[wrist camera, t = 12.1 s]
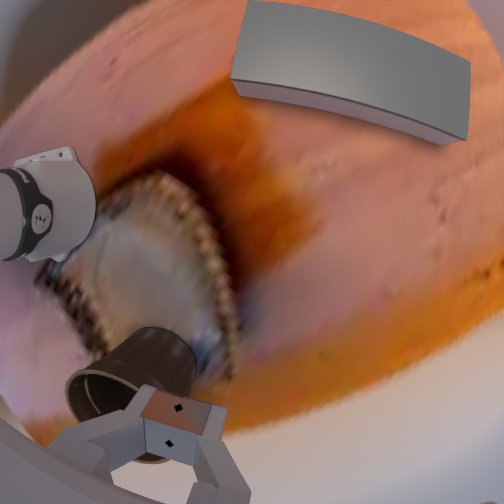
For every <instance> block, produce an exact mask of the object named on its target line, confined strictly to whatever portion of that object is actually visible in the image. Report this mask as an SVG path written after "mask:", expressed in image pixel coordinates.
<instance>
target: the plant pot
mask: <svg viewBox="0 0 504 504" xmlns="http://www.w3.org/2000/svg"><path fill="white" fill-rule="evenodd" d="M195 375H196V365H195V358H194V355H193V353H192V351H191V350H190V348H189V347H188V346H187V345H186V344H185V343H184V342H183V341H182V340H181V339H180V338H179V337H177V336H176V335H174V334H173V333H171V332H169V331H167V330H164V329H161V328H157V329H154V328H148V327H147V328H142V329H140V330H138V331H136V332H135V333H134V334H132V335H131V336H130V337H129V338H128V339H126V340H125V341H124V342H123V343H121V344H120V345H119V346H118V347H116V348H115V349H114V350H112V351H111V352H110V353H108V354H107V355H106V356H105V357H103V358H102V359H101V360H99V361H96V362H94V363H92V364H91V365H89V366H88V367H86V368H85V369H81V370H78V371H76V372H75V373H73V374H72V375H71V376H70V377H69V378H68V380H67V382H66V385H65V397H66V401H67V405H68V407H69V409H70V411H71V413H72V415H73V417H74V418H75V420H76V421H77V423H81V422H84V421H88V420H91V419H94V418H97V417H100V416H103V415H106V414H109V413H112V412H115V411H118V410H123V411H124V410H125V409H126V407H127V406H128V405H129V403H130V402H131V400H132V399H133V398H134V396H135V395H136V393H137V392H138V390H139V389H140V388H141V386H142V385H144V384H147V385H150V386H152V387H155V388H159V389H162V390H165V391H168V392H171V393H174V394H177V395H180V396H184V397H188V396H189V393H190V389H191V386H192V383H193V380H194V378H195ZM145 452H146V451H145ZM169 460H171V459H168V458H165V457H162V456H158V455H155V454H152V453H149V452H146V453H144V454H143V455H141V456H139V457H137V458H136V459H134V460H132V461H134V462H139V463H144V464H160V463H164V462H167V461H169Z"/></svg>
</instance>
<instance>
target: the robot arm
mask: <svg viewBox="0 0 504 504" xmlns="http://www.w3.org/2000/svg"><path fill="white" fill-rule="evenodd" d="M62 154H63V155H62ZM95 208H96V203H95V193H94V189H93V185H92V182H91V180H90V178H89V176H88V174H87V173H86V171H85V170H84V169H83V168H82V167H81V166H80V164H79V163H78V161H77V158H76V154H75V151H74V149H73V148H72V147H70V146H69V147H62V148H58V149H54V150H50V151H46V152H43V153H39V154H35V155H32V156H28V157H25V158H22V159H19V160H17V161H16V162H15V164H14V166H13V167H12V168H4V169H0V261H1V260H2V261H10V260H17V259H20V258H22V257H23V256H24V257H25V258H27V259H29V261H31V262H34V261H38V260H42V259H46V258H52V259H53V260H55V261H57V262H62V261H64V260H65V259H66V258H67V256H68V254H69V253H70V251H71V250H72V249H73V248H75V247H77V246H78V245H80V244H81V243H82V242H83V241H84V240H85V239H86V237H87V236H88V234H89V232H90V230H91V228H92V225H93V222H94V217H95ZM227 410H228V407H225V406H221V405H216V404H211V403H207V402H203V401H199V400H195V399H191V398H188V397H184V396H180V395H177V394H174V393H171V392H168V391H165V390H162V389H159V388H155V387H152V386H150V385H147V384H144V385H142V386H141V388H140V389H139V390H138V392H137V393H136V395H135V396H134V398H133V399H132V400H131V402H130V403H129V405H128V406H127V407H126V409H125V410H124V411H123V410H118V411H115V412H112V413H109V414H106V415H103V416H100V417H97V418H94V419H91V420H88V421H84V422H81V423H78V424H75V425H71V426H68V427H65V428H64V429H63V430H62V431H61V432H60V433H59V435H58V436H57V437H56V438H55V439H54V440H53V442H52V443H51V444H50V445H49V446H48V447H47V449H45V448H43V447H42V446H40V445H39V444H37V443H35V442H34V441H32V440H31V439H29V438H28V437H26V436H25V435H24V434H22V433H21V432H19V431H18V430H17V429H15V428H14V427H12V426H11V425H10V424H8V423H7V422H6V421H4V420H3V419H2V418H0V504H164V503H161V502H158V501H155V500H152V499H149V498H147V497H144V496H141V495H138V494H136V493H133V492H130V491H128V490H126V489H123V488H121V487H118V486H116V485H114V483H113V480H112V476H111V473H110V472H112V471H114V470H116V469H117V468H119V467H121V466H123V465H125V464H126V463H128V462H130V461H132V460H134V459H136V458H137V457H139V456H141V455H143V454H144V453H146V452H149V453H152V454H155V455H158V456H162V457H165V458H168V459H172V460H174V461H177V462H181V463H184V464H187V465H190V466H193V469H194V471H195V474H196V477H197V480H198V482H195V483H193V486H192V489H191V492H190V495H189V497H188V500H187V503H186V504H249V503H250V497H251V490H250V488H249V486H248V485H247V483H246V481H245V480H244V478H243V476H242V475H241V473H240V471H239V470H238V468H237V466H236V464H235V462H234V460H233V459H232V457H231V455H230V453H229V451H228V449H227V447H226V446H225V444H224V442H223V441H221V439H222V435H223V430H224V425H225V420H226V415H227ZM145 451H146V452H145ZM481 504H497V503H495V502H492V501H490V502H485V503H481Z"/></svg>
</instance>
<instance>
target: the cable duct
mask: <svg viewBox="0 0 504 504" xmlns="http://www.w3.org/2000/svg"><path fill="white" fill-rule="evenodd" d="M232 82H233V84H234V86H235V88H236V90H237V92H238V94H239V95H240V96H244V97H251V98H259V99H265V100H272V101H278V102H284V103H290V104H295V105H300V106H305V107H310V108H315V109H320V110H324V111H329V112H333V113H337V114H341V115H345V116H349V117H353V118H357V119H361V120H364V121H368V122H371V123H375V124H378V125H382V126H385V127H388V128H391V129H395V130H398V131H401V132H404V133H407V134H410V135H413V136H415V137H418V138H421V139H424V140H427V141H429V142H432V143H435V144H437V145H440V146H441V145H445V144H450V143H455V142H459V141H462V140H461V139H458V138H456V137H454V136H451V135H449V134H447V133H444V132H442V131H439V130H437V129H434V128H432V127H429V126H426V125H424V124H421V123H418V122H415V121H413V120H410V119H407V118H404V117H401V116H398V115H395V114H392V113H389V112H386V111H382V110H379V109H376V108H372V107H369V106H365V105H362V104H358V103H354V102H350V101H347V100H343V99H338V98H334V97H330V96H326V95H321V94H316V93H312V92H307V91H301V90H296V89H291V88H285V87H279V86H272V85H266V84H258V83H251V82H242V81H233V80H232Z"/></svg>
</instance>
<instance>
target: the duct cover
mask: <svg viewBox="0 0 504 504" xmlns="http://www.w3.org/2000/svg"><path fill="white" fill-rule="evenodd" d="M230 79H231V80H233V81H242V82H251V83H258V84H266V85H272V86H279V87H285V88H291V89H296V90H301V91H307V92H312V93H316V94H321V95H326V96H330V97H334V98H338V99H343V100H347V101H350V102H354V103H358V104H362V105H365V106H369V107H372V108H376V109H379V110H382V111H386V112H389V113H392V114H395V115H398V116H401V117H404V118H407V119H410V120H413V121H415V122H418V123H421V124H424V125H426V126H429V127H432V128H434V129H437V130H439V131H442V132H444V133H447V134H449V135H451V136H454V137H456V138H458V139H461V140H463V141H465V140H467V132H468V121H469V106H470V62H469V61H467V60H465V59H463V58H461V57H459V56H457V55H455V54H453V53H451V52H449V51H447V50H445V49H443V48H441V47H438V46H436V45H434V44H431V43H429V42H427V41H424V40H422V39H419V38H417V37H414V36H412V35H409V34H406V33H404V32H401V31H398V30H395V29H392V28H389V27H386V26H383V25H380V24H377V23H374V22H370V21H367V20H363V19H360V18H356V17H352V16H348V15H344V14H340V13H335V12H331V11H326V10H321V9H316V8H310V7H304V6H298V5H291V4H284V3H276V2H266V1H254V0H248V3H247V7H246V11H245V15H244V19H243V23H242V27H241V31H240V36H239V40H238V44H237V49H236V53H235V58H234V62H233V67H232V71H231V76H230Z"/></svg>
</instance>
